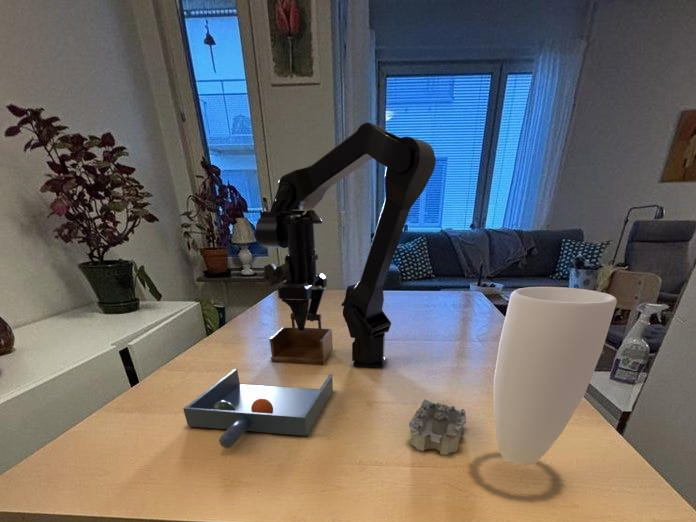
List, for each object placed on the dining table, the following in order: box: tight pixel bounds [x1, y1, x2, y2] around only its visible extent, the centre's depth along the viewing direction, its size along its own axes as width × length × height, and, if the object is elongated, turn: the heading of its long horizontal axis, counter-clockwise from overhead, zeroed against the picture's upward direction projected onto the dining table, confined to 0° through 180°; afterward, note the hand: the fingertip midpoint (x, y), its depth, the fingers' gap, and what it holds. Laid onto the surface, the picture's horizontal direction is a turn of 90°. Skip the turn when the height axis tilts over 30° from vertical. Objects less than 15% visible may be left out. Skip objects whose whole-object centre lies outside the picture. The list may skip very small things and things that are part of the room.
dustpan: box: [183, 368, 334, 449], centre depth 64 cm, size 26×19×3 cm
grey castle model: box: [408, 399, 467, 456], centre depth 59 cm, size 11×8×4 cm
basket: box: [269, 312, 334, 366], centre depth 90 cm, size 12×10×8 cm
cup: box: [493, 286, 618, 466], centre depth 45 cm, size 10×10×22 cm
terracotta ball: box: [251, 398, 273, 414], centre depth 63 cm, size 3×3×3 cm
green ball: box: [213, 401, 235, 411], centre depth 62 cm, size 3×3×3 cm
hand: (306, 325), depth 93 cm, fingers open, 9 cm apart
